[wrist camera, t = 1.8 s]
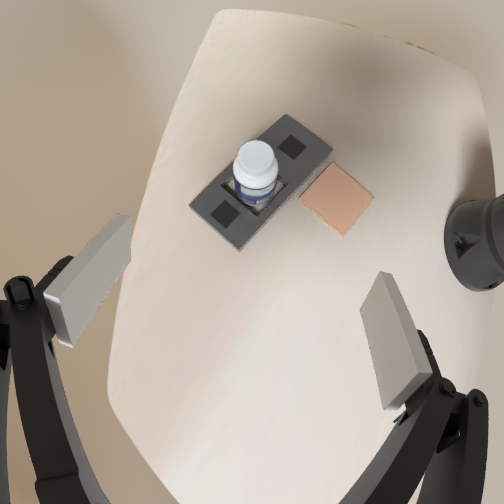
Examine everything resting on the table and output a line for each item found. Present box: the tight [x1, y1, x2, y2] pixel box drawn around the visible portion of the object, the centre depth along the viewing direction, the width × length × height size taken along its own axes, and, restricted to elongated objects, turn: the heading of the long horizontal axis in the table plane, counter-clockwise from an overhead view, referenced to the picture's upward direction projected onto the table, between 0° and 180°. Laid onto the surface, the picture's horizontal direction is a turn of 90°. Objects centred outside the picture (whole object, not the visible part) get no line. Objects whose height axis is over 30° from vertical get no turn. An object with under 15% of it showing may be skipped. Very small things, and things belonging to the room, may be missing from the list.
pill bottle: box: [233, 140, 278, 206], centre depth 37 cm, size 5×5×10 cm
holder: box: [189, 114, 333, 252], centre depth 41 cm, size 20×9×2 cm, turn 138°
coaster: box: [299, 162, 374, 237], centre depth 41 cm, size 8×8×1 cm
